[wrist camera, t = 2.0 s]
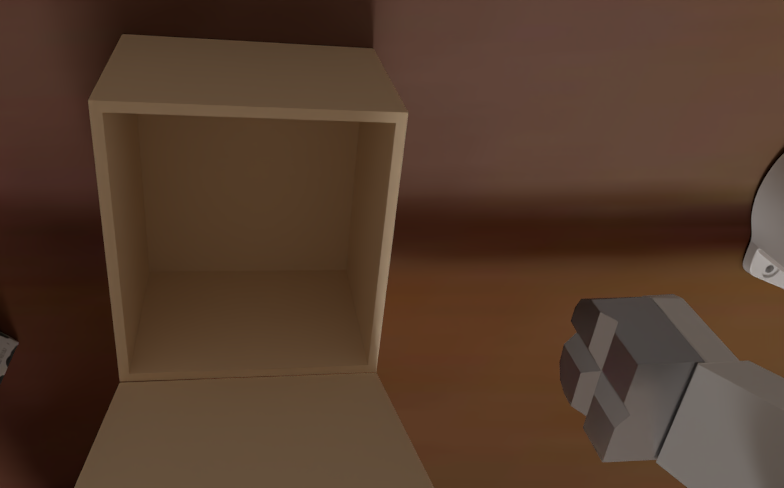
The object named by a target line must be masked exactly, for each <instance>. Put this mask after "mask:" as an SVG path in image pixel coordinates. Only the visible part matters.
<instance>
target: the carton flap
mask: <svg viewBox="0 0 784 488" xmlns="http://www.w3.org/2000/svg"><path fill="white" fill-rule="evenodd" d="M74 488H434V487H433V485H432V483H431V481H430V479H429V477H428V475H427V473H426V471H425V469H424V467H423V465H422V463H421V461H420V459H419V457H418V455H417V453H416V451H415V449H414V447H413V445H412V443H411V441H410V439H409V437H408V435H407V433H406V431H405V429H404V427H403V425H402V423H401V421H400V419H399V417H398V415H397V413H396V411H395V409H394V407H393V405H392V403H391V401H390V399H389V397H388V395H387V393H386V391H385V389H384V387H383V385H382V383H381V381H380V379H379V377H378V375H377V373H359V374H333V375H307V376H281V377H255V378H229V379H203V380H177V381H151V382H125V383H119V385H118V387H117V390H116V392H115V394H114V397H113V399H112V401H111V404H110V406H109V408H108V411H107V413H106V415H105V417H104V420H103V422H102V424H101V427H100V429H99V431H98V434H97V436H96V438H95V441H94V443H93V445H92V448H91V450H90V452H89V454H88V457H87V459H86V461H85V464H84V466H83V468H82V471H81V473H80V475H79V478H78V480H77V482H76V485H75V487H74Z"/></svg>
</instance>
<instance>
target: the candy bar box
mask: <svg viewBox="0 0 784 488" xmlns="http://www.w3.org/2000/svg"><path fill="white" fill-rule="evenodd" d="M18 344H19V342H18V341H16V340H15V339H13V338H11V337H9V336H8V335H6V334H4V333H2V332H0V384H1V381H2V379H3V377H4V375H5V373H6V370H7V368H8V365H9V363H10V361H11V359H12V356H13V354H14V352H15V349H16V347H17V346H18Z"/></svg>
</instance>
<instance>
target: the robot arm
mask: <svg viewBox="0 0 784 488" xmlns="http://www.w3.org/2000/svg"><path fill="white" fill-rule="evenodd" d="M751 226H752V237H751V242H750V244H749V247H748V249H747V252H746V254H745V257H744V261H743V268H744V270H745V271H747V272H748V273H750V274H751V275H753V276H754V277H757V278H759V279H762V280H764V281H766V282H769V283H771V284H773V285H776V286H778V287H781V288H783V289H784V153H783V154H782V155H781V157H780V158H779V159H778V160H777V161H776V162H775V164H774V165H773V166H772V168H771V169H770V170H769V172H768V173H767V175H766V177H765V178H764V180H763V182H762V184H761V186H760V188H759V190H758V192H757V195H756V198H755V201H754V204H753V209H752V216H751ZM571 322H572V324H573V326H574V328H575V330H576V332H577V333H576V334H575V335H574V336H573V337H572V338H570V339H569V340H568V341H567V342H566V343H565V344H564V347H563V351H562V355H561V359H560V381H561V384H562V387H563V391H564V394H565V396H566V398H567V399H568V401H569V403H570V405H571V406H572V407H574V408H575V409H577V410H578V411H580V412H581V413H583V414H584V415H586V420H585V423H584V426H583V429H584V430H585V432H586V434H587V436H588V437H589V439H590V441H591V443H592V445H593V446H594V448H595V450H596V452H597V453H598V455H599V457H600V459H601V460H602V462H618V461H639V460H657V461H656V463H658V464H659V465H660V466H661V467H662V468H664V469H665V470H666V471H667V472H669V473H670V474H671V475H672V476H674V477H675V478H676V479H677V480H679V481H680V482H681V483H682V484H684V485H685V486H686V487H687V488H784V378H782V377H780V376H778V375H776V374H774V373H772V372H770V371H768V370H766V369H764V368H762V367H760V366H758V365H756V364H754V363H752V362H750V361H739V360H738V359H737V358H736V357H735V355H734V354H733V353H732V352H731V351H730V350H729V349H728V348H727V347H726V346H725V344H724V343H723V342H722V341H721V340H720V339H719V338H718V337H717V336H716V335H715V333H714V332H713V331H712V330H711V329H710V328H709V327H708V326H707V325H706V324H705V322H704V321H703V320H702V319H701V318H700V317H699V316H698V315H697V314H696V313H695V311H694V310H693V309H692V308H691V307H690V306H689V305H688V304H687V303H686V302H685V300H684V299H683V298H681V297H678V296H676V295H674V294H668V295H650V296H642V297H624V298H592V299H581V300H580V301H579V303H578V304H577V306H576V307H575V310H574V313H573V316H572V319H571Z"/></svg>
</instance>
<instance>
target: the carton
mask: <svg viewBox="0 0 784 488" xmlns="http://www.w3.org/2000/svg"><path fill="white" fill-rule="evenodd" d="M88 106H89V114H90V123H91V132H92V141H93V150H94V159H95V167H96V176H97V185H98V194H99V203H100V212H101V220H102V229H103V238H104V247H105V256H106V265H107V273H108V282H109V291H110V300H111V309H112V318H113V326H114V335H115V344H116V353H117V362H118V371H119V379H120V382H123V381H149V380H175V379H201V378H227V377H254V376H280V375H306V374H332V373H359V372H376V369H377V361H378V353H379V345H380V337H381V329H382V321H383V313H384V305H385V297H386V288H387V280H388V272H389V264H390V256H391V248H392V240H393V232H394V224H395V216H396V208H397V200H398V192H399V184H400V176H401V168H402V160H403V151H404V143H405V135H406V127H407V119H408V111H407V109H406V108H405V106H404V104H403V102H402V100H401V98H400V97H399V95H398V93H397V91H396V89H395V87H394V86H393V84H392V82H391V80H390V78H389V76H388V75H387V73H386V71H385V69H384V67H383V65H382V64H381V62H380V60H379V58H378V56H377V54H376V53H375V51H374V49H373V48H357V47H340V46H322V45H305V44H287V43H270V42H252V41H235V40H217V39H200V38H183V37H165V36H148V35H130V34H122V36H121V38H120V39H119V41H118V43H117V45H116V47H115V49H114V51H113V53H112V55H111V57H110V59H109V61H108V63H107V64H106V66H105V68H104V70H103V72H102V74H101V76H100V78H99V80H98V82H97V84H96V86H95V88H94V90H93V91H92V93H91V95H90V97H89V99H88Z"/></svg>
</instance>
